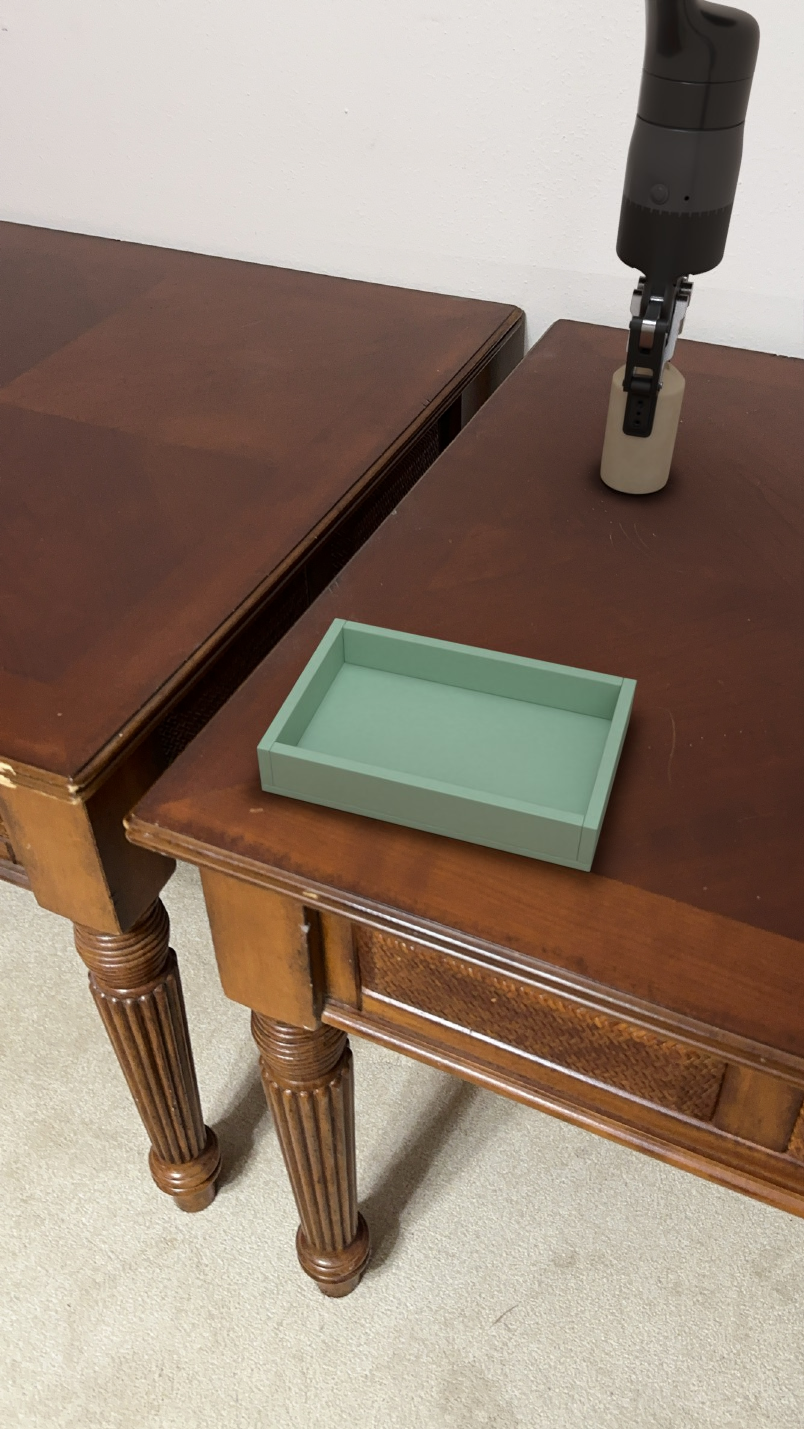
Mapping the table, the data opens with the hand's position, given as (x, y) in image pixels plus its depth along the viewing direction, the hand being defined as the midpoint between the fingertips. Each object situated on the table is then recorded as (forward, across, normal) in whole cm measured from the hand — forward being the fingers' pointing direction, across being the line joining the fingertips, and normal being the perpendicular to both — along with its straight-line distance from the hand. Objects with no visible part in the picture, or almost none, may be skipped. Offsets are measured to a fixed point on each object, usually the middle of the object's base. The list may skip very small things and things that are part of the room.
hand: (643, 415), depth 86 cm
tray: (+6, -35, +5) cm, 36 cm away
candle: (+6, 0, 0) cm, 6 cm away
